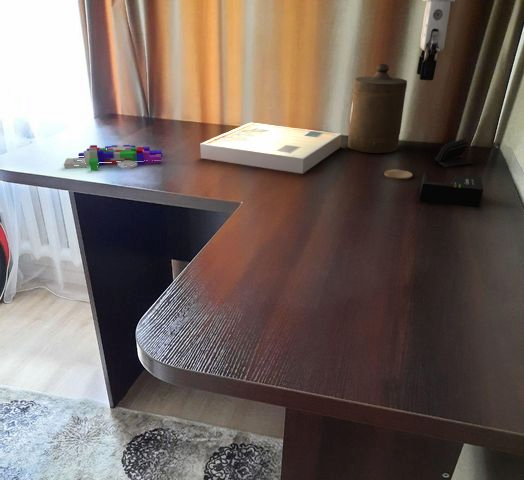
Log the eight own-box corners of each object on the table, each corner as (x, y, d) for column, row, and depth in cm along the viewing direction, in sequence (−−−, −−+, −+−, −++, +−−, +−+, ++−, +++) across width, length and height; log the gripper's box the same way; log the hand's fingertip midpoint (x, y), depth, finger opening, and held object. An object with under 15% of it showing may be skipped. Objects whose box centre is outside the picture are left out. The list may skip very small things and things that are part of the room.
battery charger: (477, 194, 119) (481, 176, 116) (479, 207, 111) (484, 189, 109) (420, 188, 122) (423, 171, 119) (418, 201, 114) (422, 183, 112)
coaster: (411, 172, 132) (411, 170, 132) (412, 180, 127) (413, 178, 127) (384, 170, 133) (384, 168, 133) (384, 178, 128) (384, 176, 128)
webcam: (457, 158, 144) (462, 137, 140) (472, 164, 139) (478, 142, 136) (431, 161, 141) (435, 140, 137) (446, 167, 136) (451, 145, 133)
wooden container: (373, 138, 161) (383, 59, 148) (407, 149, 151) (422, 65, 138) (337, 144, 154) (345, 62, 142) (371, 156, 144) (382, 68, 131)
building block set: (161, 147, 149) (159, 131, 146) (162, 168, 132) (160, 150, 130) (73, 150, 145) (69, 134, 142) (63, 171, 129) (59, 153, 126)
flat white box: (250, 122, 161) (341, 133, 150) (250, 135, 163) (340, 147, 152) (200, 143, 138) (303, 158, 128) (200, 158, 140) (302, 173, 130)
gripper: (461, -6, 109) (443, 83, 119) (451, -7, 123) (436, 73, 133) (426, -7, 110) (411, 81, 120) (419, -7, 124) (407, 72, 134)
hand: (424, 77), depth 127 cm, fingers open, 9 cm apart
